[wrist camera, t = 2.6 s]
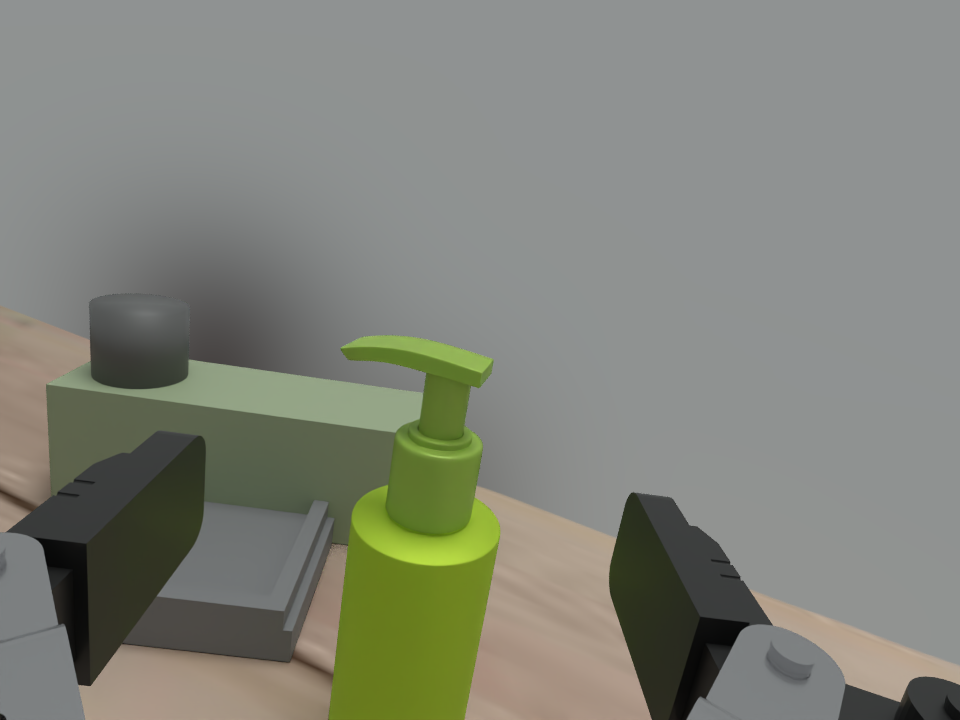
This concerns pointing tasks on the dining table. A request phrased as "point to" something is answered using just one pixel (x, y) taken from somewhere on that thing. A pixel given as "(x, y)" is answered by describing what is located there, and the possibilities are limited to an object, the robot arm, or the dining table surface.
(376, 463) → the green block with tray
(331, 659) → the dining table surface
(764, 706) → the robot arm
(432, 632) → the soap dispenser
